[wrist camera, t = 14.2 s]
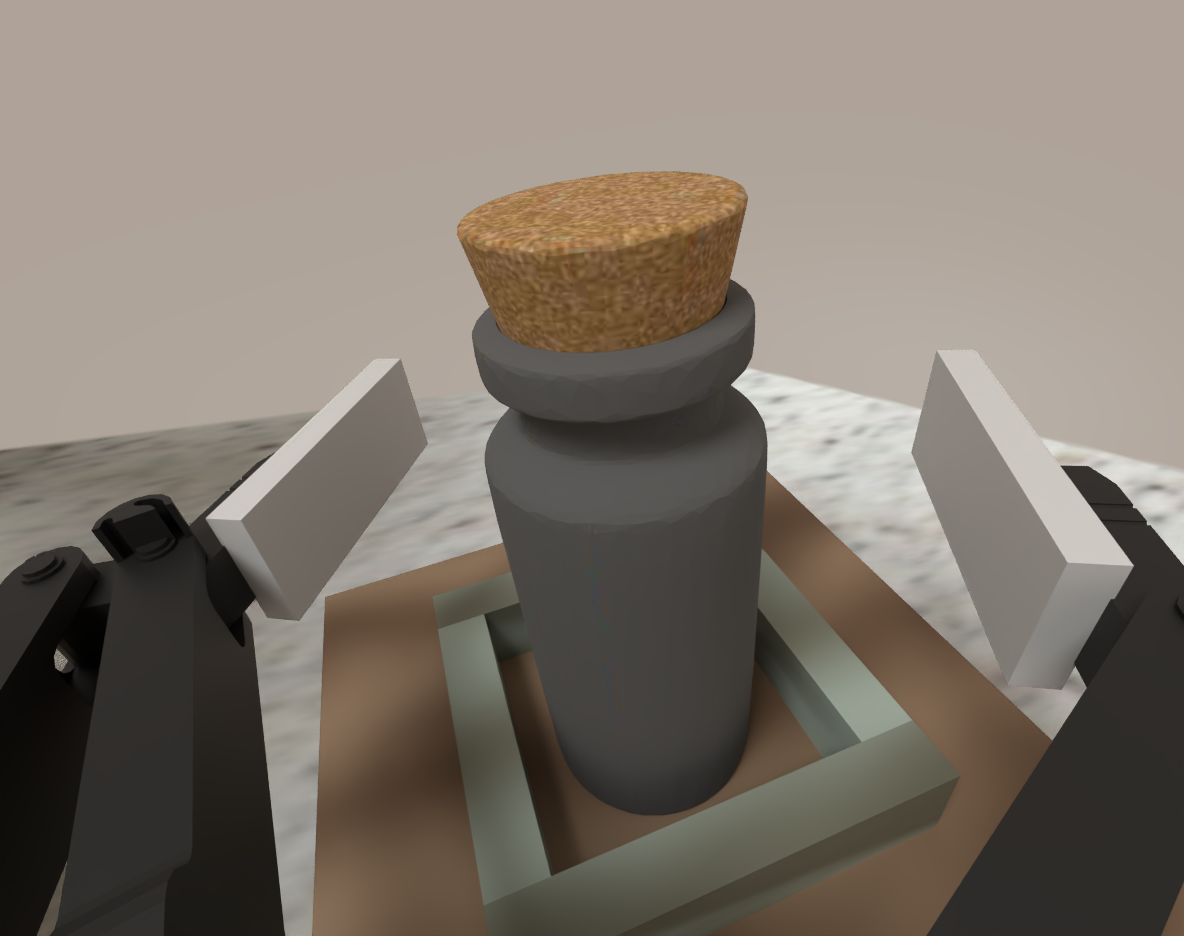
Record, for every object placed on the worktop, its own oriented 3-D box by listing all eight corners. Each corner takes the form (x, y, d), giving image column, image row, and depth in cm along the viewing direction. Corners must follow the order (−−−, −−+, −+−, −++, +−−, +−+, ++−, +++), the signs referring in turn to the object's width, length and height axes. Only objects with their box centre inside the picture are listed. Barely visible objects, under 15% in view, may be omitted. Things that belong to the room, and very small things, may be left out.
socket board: (338, 621, 25) (301, 552, 23) (758, 489, 29) (763, 419, 27) (326, 1547, 9) (203, 1625, 7) (1239, 975, 14) (1350, 907, 11)
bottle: (691, 865, 15) (669, 275, 6) (518, 748, 18) (342, 241, 9) (778, 689, 19) (839, 161, 10) (622, 616, 22) (565, 163, 13)
